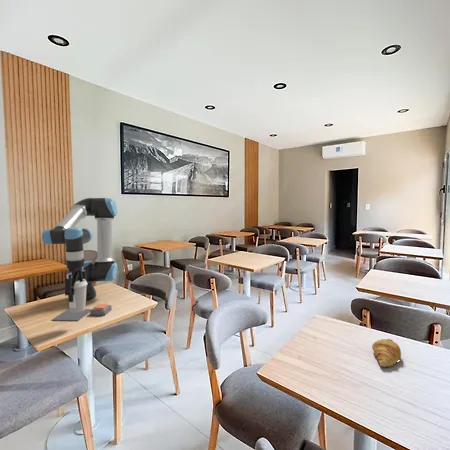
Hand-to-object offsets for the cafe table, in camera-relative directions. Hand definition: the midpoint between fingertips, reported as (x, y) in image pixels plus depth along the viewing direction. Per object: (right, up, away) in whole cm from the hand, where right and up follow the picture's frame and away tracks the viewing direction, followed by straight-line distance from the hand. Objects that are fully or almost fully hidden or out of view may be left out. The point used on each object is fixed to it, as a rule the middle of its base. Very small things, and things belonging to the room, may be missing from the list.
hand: (77, 304), depth 131 cm
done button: (+4, -9, +17) cm, 20 cm away
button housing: (+4, -10, +18) cm, 21 cm away
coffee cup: (0, -3, 0) cm, 3 cm away
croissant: (+140, -15, -23) cm, 142 cm away
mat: (-11, -10, +14) cm, 20 cm away
